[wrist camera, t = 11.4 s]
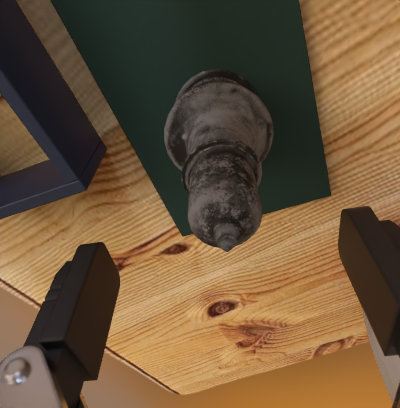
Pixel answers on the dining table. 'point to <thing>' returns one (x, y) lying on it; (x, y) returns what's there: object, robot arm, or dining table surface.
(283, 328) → the dining table surface
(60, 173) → the crate
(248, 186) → the grey flared post
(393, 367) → the citrus juicer
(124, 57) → the mat
